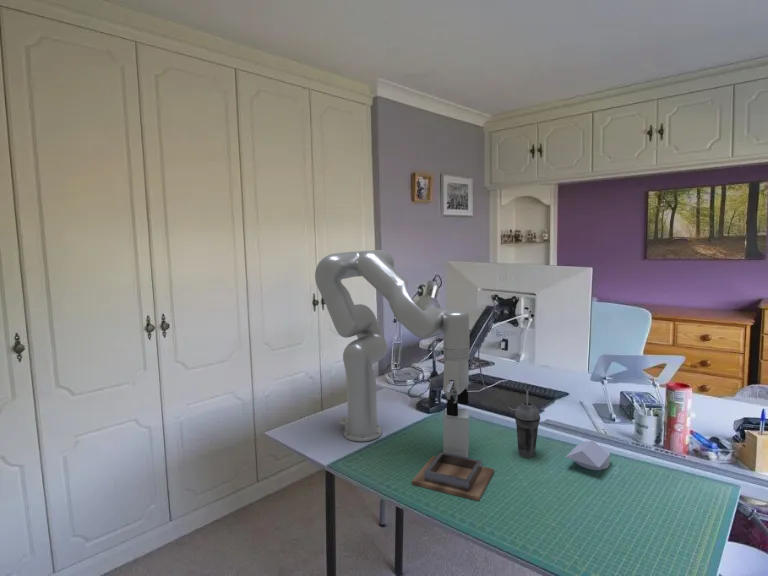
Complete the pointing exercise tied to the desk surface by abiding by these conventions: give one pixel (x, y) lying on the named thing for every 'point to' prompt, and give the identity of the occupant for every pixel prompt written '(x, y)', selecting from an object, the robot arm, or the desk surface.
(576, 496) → the desk surface
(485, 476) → the collar board
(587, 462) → the grey faceted rock
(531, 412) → the beverage cup
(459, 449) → the supplement box
